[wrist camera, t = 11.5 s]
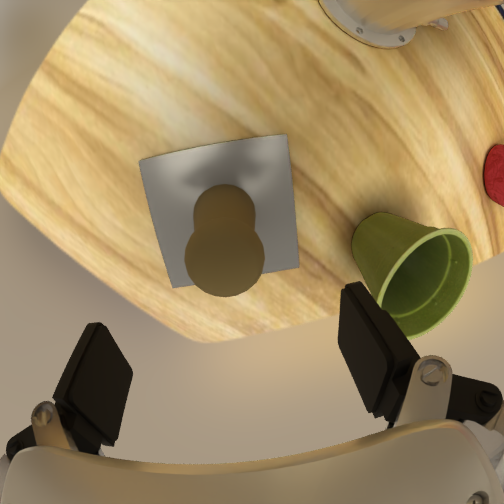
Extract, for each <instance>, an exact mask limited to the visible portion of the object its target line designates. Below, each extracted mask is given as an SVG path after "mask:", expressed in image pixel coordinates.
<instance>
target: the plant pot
mask: <svg viewBox="0 0 504 504" xmlns="http://www.w3.org/2000/svg"><path fill="white" fill-rule="evenodd" d="M351 248H352V253H353V256H354V259H355V261H356V263H357V265H358V267H359V269H360V271H361V273H362V275H363V277H364V280H365V282H366V284H367V286H368V288H369V290H370V292H371V295H372V297H373V298H374V299H375V301H376V302H377V303H378V305H379V306H380V308H381V309H382V310H386V311H387V312H388V313H389V314H390V315H391V317H392V318H393V319H394V321H395V322H396V323H397V325H398V326H399V328H400V329H401V330H402V332H403V333H404V335H405V336H406V337H407V339H408V340H412V339H414V338H417V337H420V336H422V335H424V334H426V333H428V332H429V331H431V330H432V329H434V328H435V327H436V326H438V325H439V324H440V323H441V322H442V321H443V320H444V319H445V318H446V317H447V316H448V315H449V314H450V313H451V312H452V311H453V310H454V308H455V307H456V305H457V304H458V302H459V301H460V299H461V298H462V296H463V294H464V292H465V290H466V288H467V285H468V282H469V279H470V276H471V271H472V265H473V253H472V248H471V244H470V242H469V240H468V238H467V237H466V236H465V235H464V234H463V233H462V232H461V231H459V230H456V229H452V228H442V229H438V228H435V227H427V226H424V225H421V224H419V223H416V222H413V221H410V220H407V219H404V218H401V217H399V216H396V215H393V214H390V213H386V212H379V213H375V214H374V215H372V216H370V217H368V218H366V219H365V220H363V221H362V222H361V223H360V224H359V226H358V227H357V229H356V231H355V233H354V235H353V239H352V244H351Z"/></svg>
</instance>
